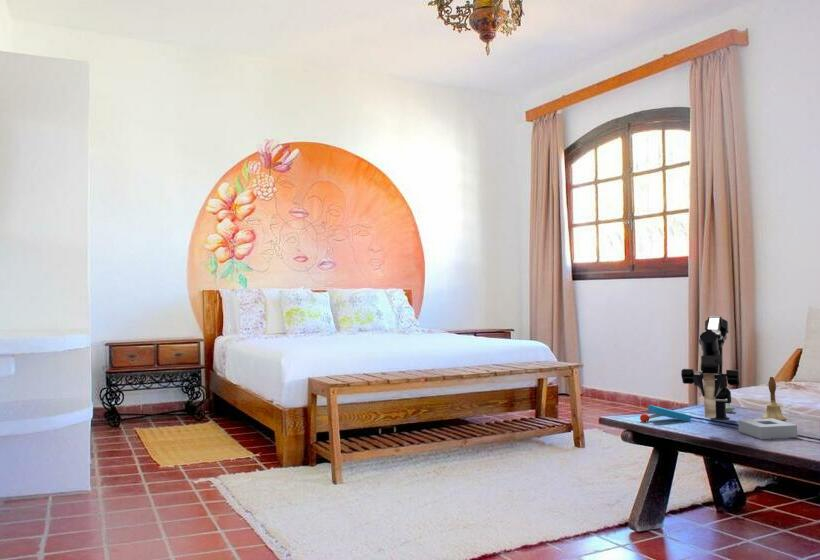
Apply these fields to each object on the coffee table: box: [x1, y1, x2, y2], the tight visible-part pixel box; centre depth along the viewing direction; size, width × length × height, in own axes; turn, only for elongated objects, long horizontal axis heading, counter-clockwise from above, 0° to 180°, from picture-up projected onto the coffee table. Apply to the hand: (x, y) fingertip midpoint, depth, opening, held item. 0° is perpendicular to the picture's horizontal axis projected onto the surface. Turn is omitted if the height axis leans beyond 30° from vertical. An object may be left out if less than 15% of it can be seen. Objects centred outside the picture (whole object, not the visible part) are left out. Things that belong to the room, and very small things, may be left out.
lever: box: [639, 404, 692, 422], centre depth 267 cm, size 7×7×18 cm
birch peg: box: [702, 374, 716, 419], centre depth 241 cm, size 4×4×15 cm
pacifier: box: [725, 399, 736, 413], centre depth 283 cm, size 7×6×6 cm
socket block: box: [737, 418, 798, 440], centre depth 238 cm, size 13×13×4 cm
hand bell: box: [761, 376, 787, 421], centre depth 265 cm, size 8×8×16 cm
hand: (709, 396), depth 240 cm, fingers closed on birch peg, 4 cm apart
